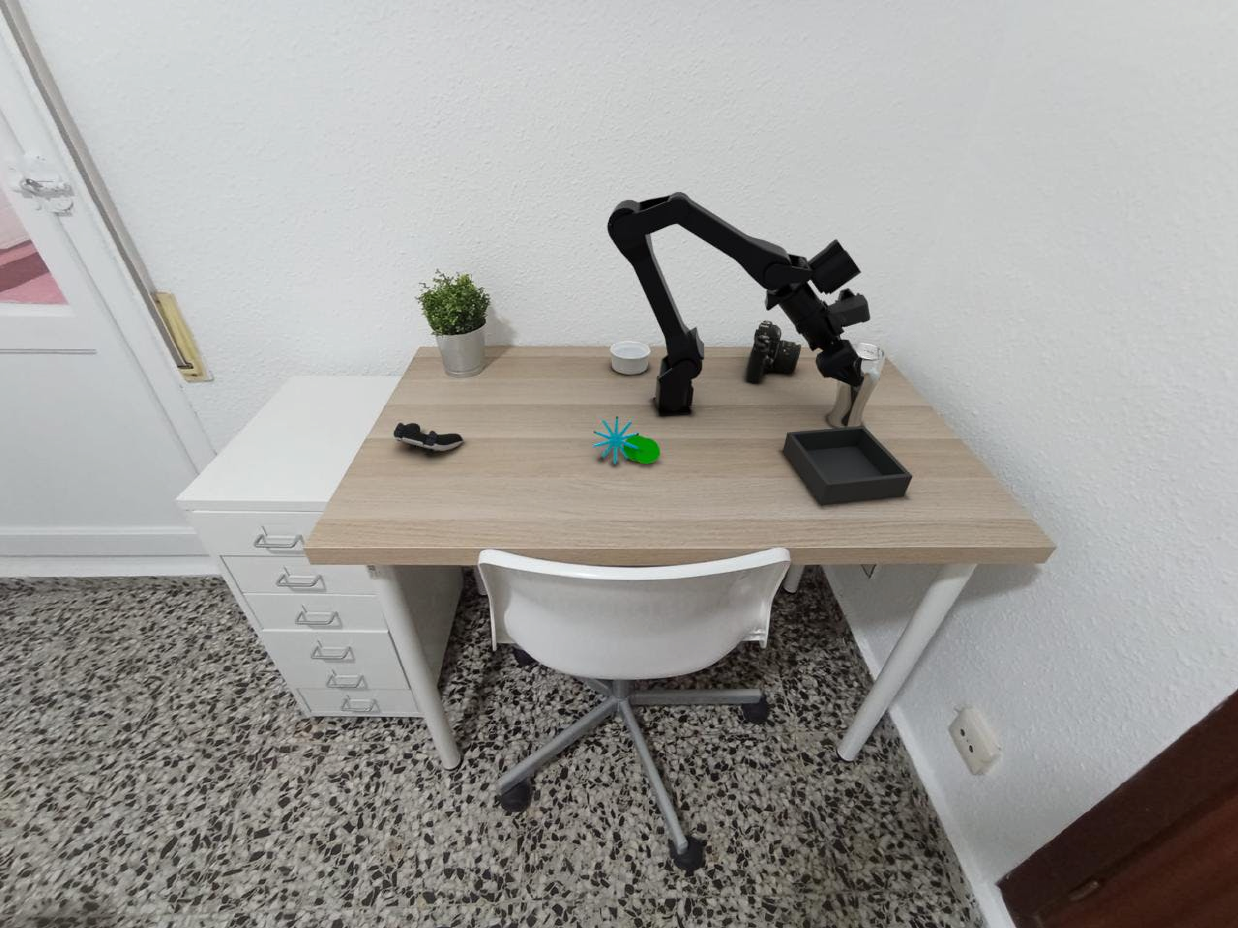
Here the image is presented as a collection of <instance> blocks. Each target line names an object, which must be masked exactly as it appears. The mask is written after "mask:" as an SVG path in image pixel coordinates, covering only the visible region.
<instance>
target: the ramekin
mask: <svg viewBox="0 0 1238 928" xmlns="http://www.w3.org/2000/svg"><path fill="white" fill-rule="evenodd" d="M609 352H610V358H611V359H610V360H611V366H612V367H611V368H612V369H613V371H615V372H617V373H618V374H622V375H629V376H630V375H631V376H632V375H633V376H634V375H639V374H641V373H643V372H645V371H646V370H647V369H648V364H649V359H650V355H651V348H650V347H649V346H648V345H646V344H645V343H642V342H638V341H632V340H631V341H630V340H629V341H628V340H627V341H626V340H625V341H619V342H616V343H614V344H612V345H611V346H610V348H609Z"/></svg>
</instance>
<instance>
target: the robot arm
mask: <svg viewBox="0 0 1238 928" xmlns="http://www.w3.org/2000/svg"><path fill="white" fill-rule="evenodd" d="M674 225H678V226H680V227H681V228H683V229H684V230H685V231H687V232H689V233H691V234H692V235H694V236H696V237H697V238H699V239H700V240H702V241H703V242H705V243H707V244H708V245H710V246H712V247H713V248H715V249H717V250H718V251H719V252H722V254H725V255H726V256H727V257H730V258H731V259H732V260H734V261H735V262H736V263H737V264H739V266H741V267H742V269H743V270H744V271H745V272H746V274H748V276H749V277H750V278H752V279H753V280H754V281H755V282H756V283H757V284H758V285H759V286H760V287H762V288H763V289H764V290H765V299H764V306H765V310H766V311H768V312H769V311H771V310H772V309H773V308H775V307H776V306H777V305H778V307H780V309H781V310H782V312H784V314H785V315H786V317H787V318H788V319H789V320H790V322H791V323H792V324H793V325H794V328H795V331H796V332H797V334H798V335H799V336H800V335H801V336H802V337H803V338H804V340H805V341H806V342H807V345H808V347H809V350H810V351H811V352H815V351H816V350H818V349H820V350H821V351H820V352H819V353H817V354H816V356H815V361H814V362H815V365H816V368H817V371H818V372H819V374H821V376H822V377H823V378H824V379H829V378H831V379H834V380H836V381H837V380H839V381H842V382H844V383H846V384H849V385H851V386H853V387H858V386H860V385H861V381H860V379H859V377H858V374H857V372H856V370H855V367H854V365H853V364H854V362H855V361H856V360H857V358H858V357H859V356H858V354H857V352H856V350H855V349H854V347H853V345H852V344H853V343H852V342H851V341H850V340H849V339H844V338H843V339H842V338H841V335H842V334H844V333H845V330H844V328H848V327H851V326H854V325H857V324H860V323H862V324H864V323H867V322H868V321H870V320H871V314H870V308H869V301H868V300H867V299H866V297H865V295H864V294H861V293H860V292H857V293H856V294H855V293H854V292H853V291H852V290H851V288H849V287H847V288H844V289H841V290H840V291H839V294H838V297H837V299H836V300H834V303H831V304H828V303H827V302H826V301H825V300H822V299H821V298H820V297H819V296H818V294H817V293H816V292H815V290H814V289H813V288H812V286H811V285H810V284H809V282H810V281H811V283H812V284H813V286H814V287H815V288H816V290H817V291H818V293H820V294H823V293H824V295H826V296H827V295H828V294H829V295H832V294H833V293H835V292H836V291H837V290H839V289H840V288H842V287H843V286H845V285H846V284H847V283H849V282H850V281H851V280H853V279H854V278H856V277H857V276H859V275H860V274H861V273H862V271H861V269H860V268H859V267H858V264H856V262H855V260H854V259H853V257H851V255H850V253H849V252H848V251H847V250H846V249H844V247H843V246H842V244H841V243H840V242H839V240H838V239H837V238H835V239H833V240H832V241H831V242H829V243H828V244H827V245H826V246H825V247H824V249H822V250H820V252H818V253H817V254H815V255H814V256H813V257H812V258H810V259H809V260H808V259H807V257H806V256H803V255H796V254H792V253H788V252H787V250H786V249H785V248H784V247H783V246H780V245H778V244H775V243H772V242H771V241H767V240H765V239H762V238H761V239H760V238H757V237H753V236H751V235H749V234H747V233H745V232H744V231H742V230H740V229H738V228H737V227H735V226H734V225H732V224H731V223H729V222H728V221H726V220H724V219H722V218H721V217H720V216H718V215H717V214H715V213H714V212H712V211H711V210H709V209H707V208H705V207H704V206H702V205H700V204H699V203H698V202H696V201H694V200H693V199H692V198H691V197H689V195H688V194H687V193H685V192H683V191H675V192H674V193H671V194H668V195H664V196H660V197H654V198H649V199H645V200H641V201H636V200H633V199H624V200H622V201H620V202H618V204H616V206H615V207H614V208H613V210H612V212H611V214H610V216H609V219H608V222H607V225H606V228H607V229H606V230H607V233H608V236H609V238H610V239H611V241H612V242H613V244H614V245H615V247H616V248H617V250H618V251H619V253H620V254H621V255H622V256H623V257H624V258H625V259H626V260H627V262H628V263H629V264H630V265H631V266H632V268H633V269H634V270H633V271H634V272H635V275H636V277H637V279H638V281H639V283H640V286H641V288H642V290H643V292H644V294H645V297H646V299H647V301H648V303H649V306H650V308H651V311H652V313H653V315H654V317H655V319H656V321H657V323H658V326H659V328H660V330H661V332H662V335H663V337H664V341H665V342H664V343H665V347H666V348H665V349H666V355H664V357H662V358H661V359H660V360H661V361H660V365H659V366H660V367H659V375H657V376H656V381H655V382H656V384H655V397H652V402H653V404H654V407H655V409H656V411H657V413H658V415H659V416H660V417H667V416H681V415H691V414H692V413H693V412H692V408H691V407H692V406H693V400H694V390H695V388H694V386H693V380H694V379H696V378H698V376H700V374H701V373H702V371H703V361H704V360H705V342H703V341H702V339H701V338H700V335H699V330H698V327H697V326H695V327H693V328H691V329H690V328H689V327H688V326H687V325H686V324H685V323H684V321H683V318H682V316H681V314H680V312H679V309H678V306H677V304H676V302H675V299H674V296H673V295H672V292H671V290H670V288H669V285H668V283H667V280H666V277H665V275H664V273H663V270H662V269H661V266H660V263H659V262H658V259H657V257H656V254H655V252H654V248H653V246H654V245H653V240H652V235H651V234H653V233H656V232H658V231H660V230H663V229H665V228H667V227H670V226H674Z"/></svg>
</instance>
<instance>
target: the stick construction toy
mask: <svg viewBox="0 0 1238 928" xmlns="http://www.w3.org/2000/svg"><path fill="white" fill-rule="evenodd" d="M601 422H602V424H603V425H604V427H605V428H606V430H607V432H608V433H609V434H605V433H602V432H599V431H596V430H594V431H593V434H595V435H597V436H599V437H602V438H604V439H607V440H605V441H602V442H599V443H596V444H593V445H592V447H593V448H597V447H602V446H606V445H607V448H606V449H605V450H604V452H603V453H602V455H600V459H601V460H603V459H604V458H605V457H606V455H607V454H608V453H609V452H610V451H611V450H612V449H613V464H614V465H617V461H618V460H617V458H618V449H619V451H620V452H621V453H622V455H623V456H624V457H625V459H626V460H627V461H630V460H631V461H633V462H639V463H640V464H645V465H648V464H652V463H654V462H656V461H657V460H658V459H659V458H660V456H661V448H660V446H659V444H658V443H657V441H655V440H654V439H652V438H650V437H645V436H643V435H640V433H639V432H635V433H632V434H631V433H630V434H627V435H624V434H625V433H626V432H627V430H628V429H629V427H630V426H631V424H632V421H631V420H630V421H629V422H628V423H627V424H626V425H625V426H624V427H623V428H622V430H620V432H619V416H618V415H616V416H615V422H614V431H613V430H612V429H611V427H610V426H609V425H608V423H607V422H606V420H605V419H602V421H601Z"/></svg>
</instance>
